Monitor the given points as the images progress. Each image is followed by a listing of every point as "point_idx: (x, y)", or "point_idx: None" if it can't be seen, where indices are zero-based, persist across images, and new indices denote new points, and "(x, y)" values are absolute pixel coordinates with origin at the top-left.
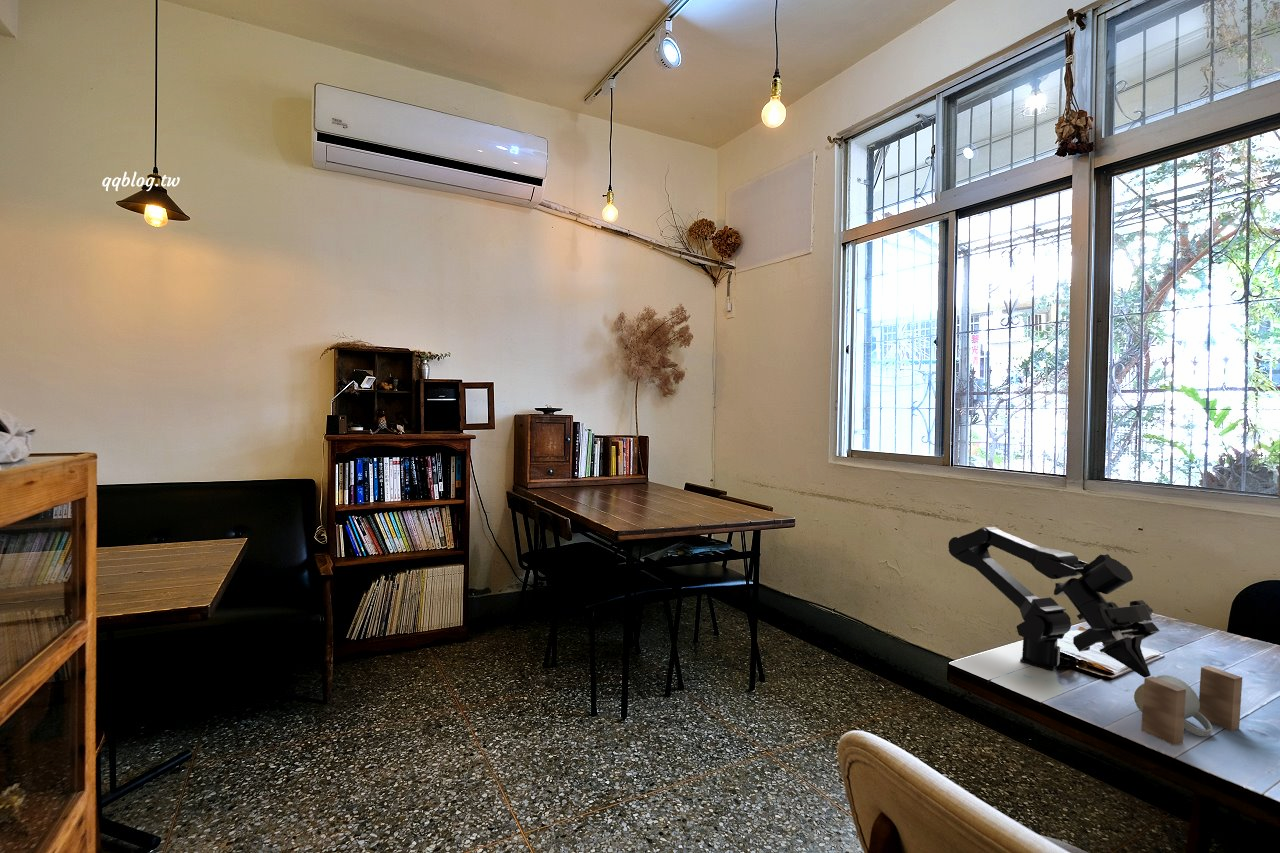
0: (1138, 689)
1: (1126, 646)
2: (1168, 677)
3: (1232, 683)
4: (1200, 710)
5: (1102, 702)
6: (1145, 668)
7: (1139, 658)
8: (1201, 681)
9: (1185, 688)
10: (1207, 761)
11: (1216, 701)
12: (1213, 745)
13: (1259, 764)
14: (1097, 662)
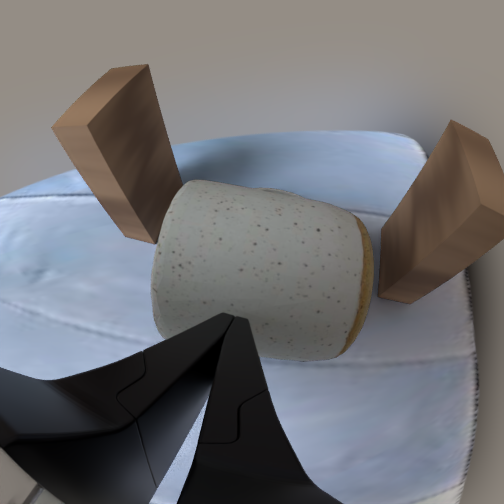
0: (356, 334)
1: (323, 492)
2: (196, 235)
3: (150, 81)
4: (150, 228)
5: (319, 444)
6: (229, 331)
7: (189, 375)
8: (112, 167)
9: (228, 186)
10: (405, 189)
11: (151, 168)
12: (318, 190)
13: (318, 139)
14: None
